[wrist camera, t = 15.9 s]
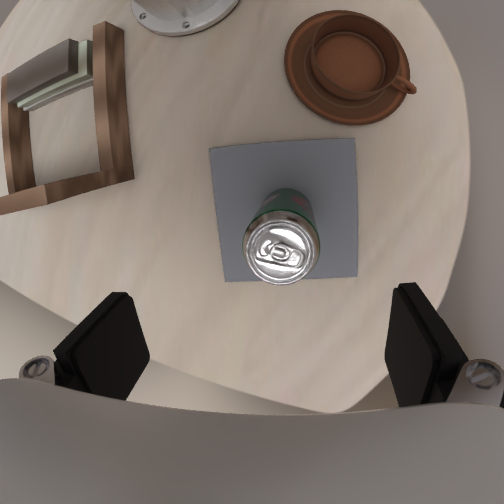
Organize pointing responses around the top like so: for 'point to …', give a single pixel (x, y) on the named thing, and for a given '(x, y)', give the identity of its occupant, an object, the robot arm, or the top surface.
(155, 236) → the top surface
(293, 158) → the mat
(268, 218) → the soda can
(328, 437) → the robot arm
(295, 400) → the top surface
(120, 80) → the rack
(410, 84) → the cup and saucer
